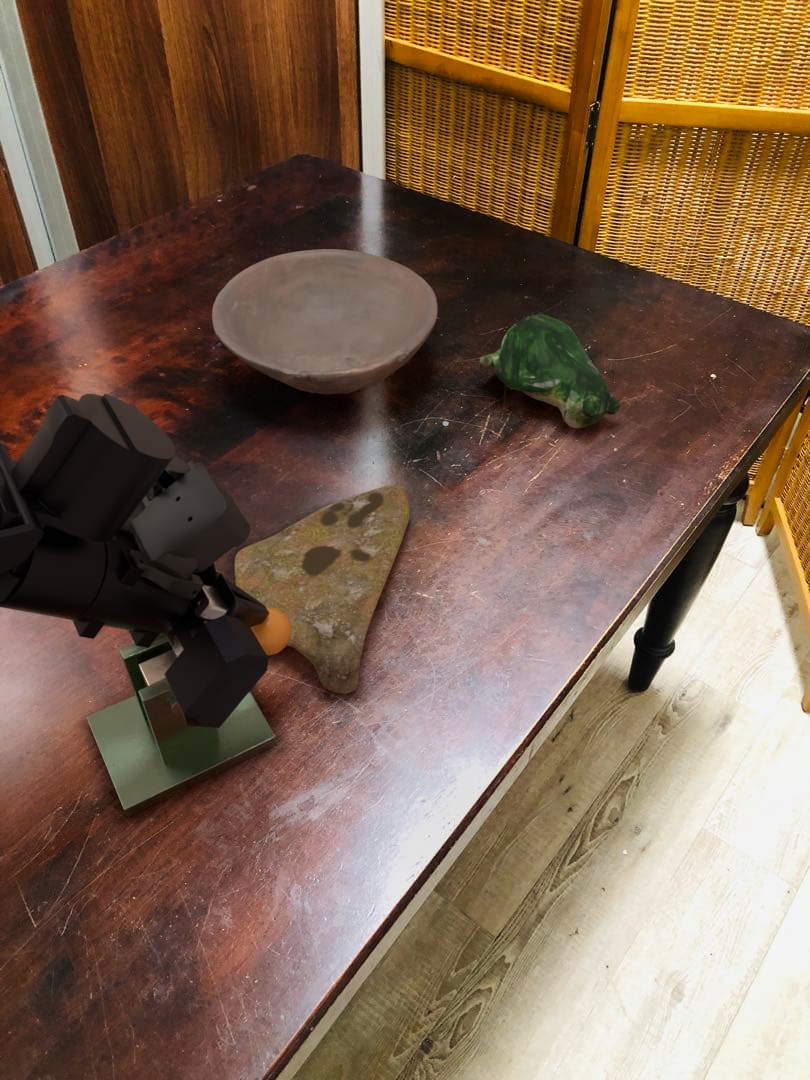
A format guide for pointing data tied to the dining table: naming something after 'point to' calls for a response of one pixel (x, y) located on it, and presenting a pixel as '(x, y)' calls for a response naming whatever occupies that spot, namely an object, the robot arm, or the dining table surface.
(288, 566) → the decorative stone
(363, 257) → the bowl
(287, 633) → the switch lever
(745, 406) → the dining table surface
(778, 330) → the dining table surface
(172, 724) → the switch bracket
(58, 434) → the robot arm
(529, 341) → the figurine
